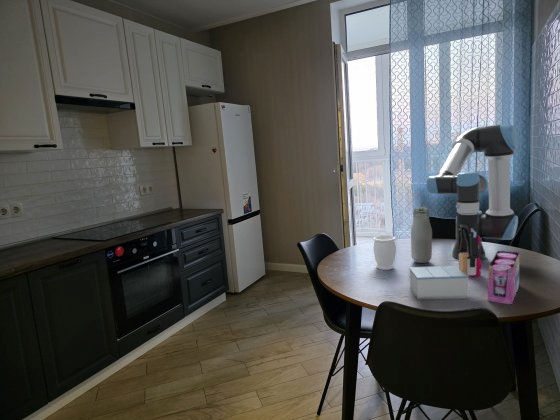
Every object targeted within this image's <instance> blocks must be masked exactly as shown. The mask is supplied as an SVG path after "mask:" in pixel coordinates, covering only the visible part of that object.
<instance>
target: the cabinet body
mask: <svg viewBox="0 0 560 420" xmlns="http://www.w3.org/2000/svg"><path fill="white" fill-rule="evenodd" d="M468 279H469V278H454V279H452V278H451V279H423V280H417V279H416V277H415V276H414V275H413V274H412V272H411V271H410V270H409V288H410V290H411V291H412V293H413V295H414V296H415V298H416V299H417V300H419V301H420V300H421V301H422V300H451V299H455V300H457V299H468V295H469V294H468V290H469V289H468V287H469V286H468V285H469V284H468V282H469V280H468Z"/></svg>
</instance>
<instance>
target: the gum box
mask: <svg viewBox="0 0 560 420" xmlns="http://www.w3.org/2000/svg"><path fill="white" fill-rule="evenodd" d="M520 257H521V255H520V252H517V251H516V252H515V251H507V250H506V251H505V250H497V252H496V253H495V255H494V257H493V258H492V260H491V262H489V264H488V282H487V283H488V286H487V301H488V302H492V303H499V304H505V305H510V304H512V305H513V302H514V301H515V298H516V295H517V293H516V292H518V290H519V286H520ZM514 297H515V298H514Z"/></svg>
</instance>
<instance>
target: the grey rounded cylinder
mask: <svg viewBox="0 0 560 420" xmlns="http://www.w3.org/2000/svg"><path fill="white" fill-rule="evenodd" d="M430 222H431V221H430V209H429V208H428V207H426V206H418V207H415V208H414V209H413V221H412V224H411V229H410V245H411V246H410V251H411V255H410V257H411V258H412V260H413V261H414V262H415V263H418V264H425V263H426V264H427V263H429V262H430V261H431V259H432V254H433V247H432V245H433V244H432V243H433V230H432V226H431V225H432V224H431V223H430Z"/></svg>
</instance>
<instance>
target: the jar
mask: <svg viewBox="0 0 560 420" xmlns="http://www.w3.org/2000/svg"><path fill="white" fill-rule="evenodd" d="M373 241H374V243H373V255H374V260H375V262H376V268H377V269H378V270H384V271H387V270H393V269H394V268H395V266H394V264H395V263H394V262H395V261H396V260H395V259H396V254H397V253H396V252H397V251H396V250H397V248H396V242H395V241H396V237H395V236H392V235H376V236H374V237H373Z"/></svg>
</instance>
